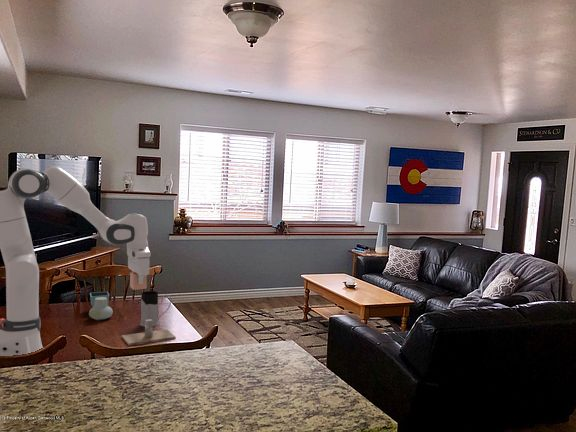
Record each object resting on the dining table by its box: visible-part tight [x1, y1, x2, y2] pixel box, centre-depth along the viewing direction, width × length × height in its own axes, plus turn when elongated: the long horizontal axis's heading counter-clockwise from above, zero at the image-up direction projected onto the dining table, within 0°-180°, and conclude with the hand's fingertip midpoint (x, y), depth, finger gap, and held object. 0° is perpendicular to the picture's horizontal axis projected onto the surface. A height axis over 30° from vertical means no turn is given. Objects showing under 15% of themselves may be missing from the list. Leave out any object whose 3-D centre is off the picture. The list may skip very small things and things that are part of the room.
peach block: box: [129, 271, 148, 291], centre depth 220 cm, size 6×6×7 cm
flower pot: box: [89, 291, 110, 309], centre depth 260 cm, size 9×9×9 cm
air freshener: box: [88, 297, 114, 321], centre depth 247 cm, size 11×8×10 cm
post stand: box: [121, 319, 177, 347], centre depth 220 cm, size 20×12×8 cm, turn 121°
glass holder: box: [139, 290, 172, 328], centre depth 241 cm, size 9×14×15 cm, turn 109°
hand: (138, 282), depth 220 cm, fingers closed on peach block, 6 cm apart
